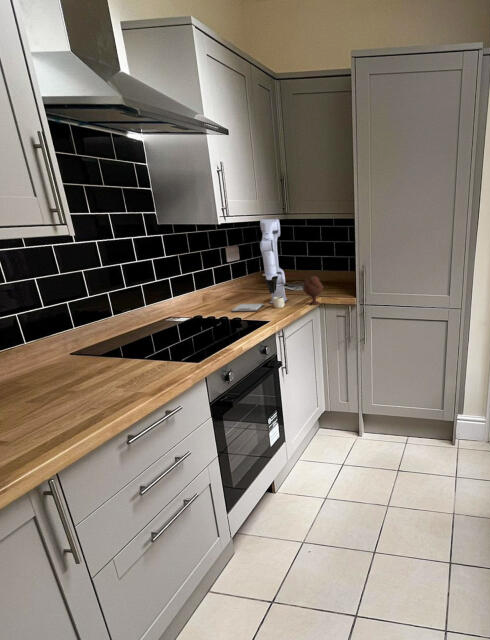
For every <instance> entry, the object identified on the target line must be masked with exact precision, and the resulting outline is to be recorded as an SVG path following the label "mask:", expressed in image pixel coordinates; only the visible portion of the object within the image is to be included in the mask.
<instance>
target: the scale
mask: <svg viewBox="0 0 490 640" xmlns="http://www.w3.org/2000/svg"><path fill="white" fill-rule="evenodd" d="M264 306H265V305H264V303H240V304H239V305H237V306H236V307H234V308H232V309H231V313H256V312H258V311H259V310H261V309H262V308H264Z"/></svg>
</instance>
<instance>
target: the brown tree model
mask: <svg viewBox="0 0 490 640" xmlns="http://www.w3.org/2000/svg"><path fill="white" fill-rule="evenodd" d="M323 290H324V285H323V284H322V282H321V281H320V278H319V277H317V276H315V275H312V276H310V277H309V278H308V279H306V280H305V281H304V283H303V286H302V291H304V293H305V294H306V295H308V296H309V297H311V298H312V300H311V301H310V302H309V305H311V306H316V305H320V303H321V302H320V301H318V300H317V298H316V297H318V296H319V295H320V294H321V293H322V292H323Z"/></svg>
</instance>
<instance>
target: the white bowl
mask: <svg viewBox="0 0 490 640" xmlns="http://www.w3.org/2000/svg"><path fill="white" fill-rule="evenodd" d="M272 304H273V307H274V308H275V309H282V308H285V305H286V304H285V302H284V297H274V298H273V303H272Z"/></svg>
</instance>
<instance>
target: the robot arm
mask: <svg viewBox="0 0 490 640" xmlns="http://www.w3.org/2000/svg"><path fill="white" fill-rule="evenodd" d="M259 225H260V230H261V234H262V237H261V241H260V242H259V248H260V252H261V257H262V260H263V261H262V262H263V269H264V273H262V277H265V279H264V283H265V284H266V286H267V288H268V289H267V290H268V292H269V294H270V297H271V301H269V303H270V304H274V303H273V298H274V297H284V303H286V302H287V300H288V298H286V297H287V296H286V289H285V286H284V285H286V276H285V272H284V270H283V269H282V268H281V267H280V265H279V253H278V238H279V237H281V224H280V219H279V218H275V219H274V218H273V219H271V218H270V219H260V221H259Z"/></svg>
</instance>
